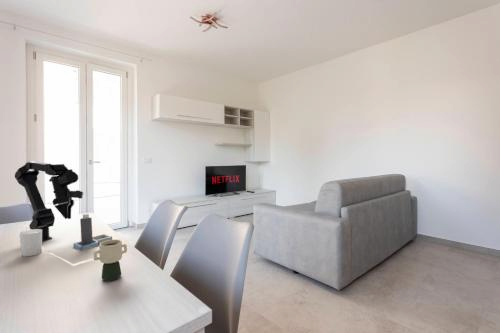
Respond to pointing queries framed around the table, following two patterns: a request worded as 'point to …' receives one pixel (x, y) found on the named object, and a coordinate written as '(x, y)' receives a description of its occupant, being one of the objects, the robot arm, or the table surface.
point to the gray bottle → (86, 230)
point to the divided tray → (96, 241)
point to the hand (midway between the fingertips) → (68, 218)
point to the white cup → (31, 242)
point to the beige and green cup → (110, 258)
